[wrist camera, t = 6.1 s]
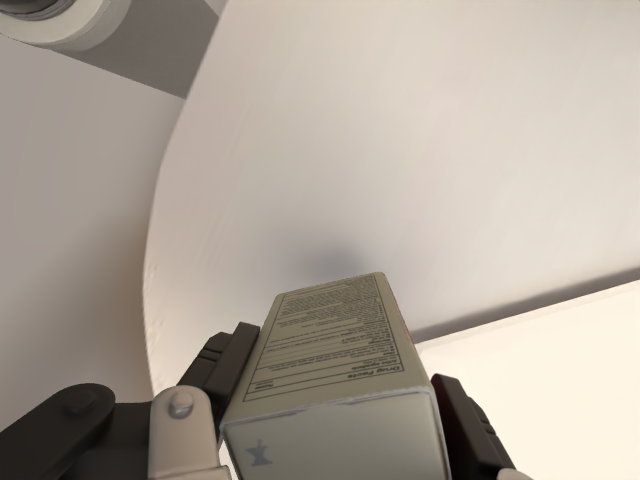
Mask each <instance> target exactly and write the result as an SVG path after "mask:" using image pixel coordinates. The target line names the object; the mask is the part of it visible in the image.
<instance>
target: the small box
mask: <svg viewBox="0 0 640 480" xmlns="http://www.w3.org/2000/svg"><path fill="white" fill-rule="evenodd" d="M219 429H220V432H221V434H222V436H223V439H224V441H225V444H226V446H227V449H228V452H229V455H230V458H231V461H232V463H233V466H234V469H235V472H236V474H237V477H238V479H239V480H452V477H451V470H450V465H449V460H448V454H447V448H446V443H445V438H444V433H443V427H442V423H441V418H440V414H439V409H438V404H437V399H436V395H435V391H434V388H433V386H432V384H431V382H430V380H429V377H428V375H427V373H426V371H425V368H424V366H423V364H422V362H421V359H420V357H419V355H418V353H417V350H416V348H415V346H414V343H413V341H412V338H411V336H410V334H409V331H408V329H407V327H406V325H405V322H404V320H403V317H402V315H401V313H400V310H399V307H398V305H397V302H396V299H395V297H394V295H393V292H392V290H391V288H390V285H389V283H388V281H387V278H386V276H385V274H384V273H383V272H375V273H370V274H365V275H360V276H356V277H351V278H346V279H342V280H338V281H333V282H328V283H325V284H320V285H316V286H311V287H307V288H303V289H299V290H295V291H291V292H286V293H282V294H279V295H277V296H276V298H275V300H274V302H273V305H272V307H271V309H270V311H269V314H268V316H267V318H266V320H265V322H264V325H263V327H262V329H261V331H260V334H259V336H258V338H257V341H256V343H255V345H254V348H253V350H252V352H251V354H250V357H249V359H248V361H247V363H246V366H245V368H244V370H243V372H242V375H241V377H240V379H239V381H238V384H237V386H236V388H235V390H234V393H233V395H232V397H231V400H230V402H229V404H228V406H227V408H226V411H225V413H224V415H223V417H222V420H221V422H220V426H219Z"/></svg>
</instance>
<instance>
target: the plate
mask: <svg viewBox="0 0 640 480" xmlns="http://www.w3.org/2000/svg"><path fill="white" fill-rule="evenodd" d="M414 346H415V348H416V350H417V353H418V355H419V357H420V359H421V362H422V364H423V366H424V368H425V371H426V373H427V375H428V377H429V380H431V378H432V376H433V375H434V374H435V373H438V374H442V375H446V376H449V377H453V378H457V379H458V380H459V381H460V383H461V385H462V387H463V389H464V391H465V392H466V394H467V396H468V397H471V398H472V399H473V400H474V401H475V402H476V403H477V404H478V405H479V406H480V407H481V408H482V409H483V411H484V412H485V414H486V416H487V418H488V420H489V421H490V425H492V427H493V428H494V430H495V432H496V436H498V437H499V439H500V441H501V442H502V444H503V446H504V448H505V450H506V451H507V453H508V455H509V457H510V458H511V460H512V462H513V464H514V465H515V467H516V469H517V471H520V472H522V473H524V474H526V475H527V476H529V477H531V478H532V479H533V480H640V280H637V281H633V282H630V283H626V284H623V285H619V286H616V287H612V288H609V289H606V290H602V291H599V292H595V293H592V294H588V295H585V296H581V297H578V298H574V299H571V300H567V301H564V302H560V303H557V304H553V305H550V306H546V307H543V308H539V309H536V310H532V311H529V312H526V313H522V314H519V315H515V316H512V317H508V318H505V319H501V320H498V321H494V322H491V323H487V324H484V325H480V326H477V327H473V328H470V329H466V330H463V331H459V332H456V333H452V334H449V335H446V336H442V337H439V338H435V339H432V340H428V341H425V342H421V343H418V344H414Z"/></svg>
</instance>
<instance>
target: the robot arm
mask: <svg viewBox="0 0 640 480" xmlns="http://www.w3.org/2000/svg"><path fill="white" fill-rule="evenodd" d="M75 1H76V0H0V13H3V14H5V15H7V16H10V17H12V18H16V19H19V20H24V21H42V20H47V19H51V18H53V17H56V16H58V15H60V14H61V13H63V12H64V11H66V10H67V9H68V8H69V7H71V6H72V5H73V4H74V2H75ZM259 333H260V327H259V326H256V325H252V324H248V323H244V322H240V323H239V324H238V326H237V328H236V329H235V331H234V333H233V334H228V333H224V332H220V333H218V334H216V335H214V336H212V337H211V338H209V340H208V341H207V342H206V344H205V345H204V347H203V349H201V351H200V352H199V354H198V355H197V357H196V358H195V359H194V361H193V362H192V364H191V365H190V367H189V368H188V369H187V371H186V372H185V374H184V375H183V377H182V378H181V379H180V381H179V382H178V384H177V385H176V386H173V387H170V388H167V389H165V390H163V391H162V392H160V393H159V394H158V395H157V396H156V397H155V398H154V400H153V401H150V402H143V403H115V395H114V393H113V391H112V390H110V389H109V388H108V387H106V386H104V385H100V384H94V383H85V384H78V385H74V386H70V387H67V388H65V389H63V390H61V391H59V392H57V393H55V394H54V395H52V396H51V397H50V398H48V399H47V400H45V401H44V402H43V403H41V404H40V405H38V406H37V407H35V408H34V409H33V410H31V411H30V412H28V413H27V414H26V415H24V416H23V417H21V418H20V419H18V420H17V421H16V422H14V423H13V424H12V425H10V426H9V427H7V428H6V429H4V430H3V431H2V432H0V480H232V477H231V473H230V469H229V467H228V466H227V465H224V466H221V464H220V460H219V453H218V452H219V449H220V447H221V444H222V442H223V436H222V434H221V432H220V429H219V426H220V422H221V420H222V417H223V415H224V413H225V411H226V408H227V406H228V404H229V402H230V400H231V397H232V395H233V393H234V390H235V388H236V386H237V384H238V381H239V379H240V377H241V375H242V372H243V370H244V368H245V366H246V363H247V361H248V359H249V357H250V354H251V352H252V350H253V348H254V345H255V343H256V341H257V338H258V336H259ZM430 382H431V384H432V386H433V388H434V391H435V395H436V399H437V404H438V409H439V414H440V418H441V423H442V427H443V433H444V438H445V443H446V448H447V454H448V460H449V465H450V470H451V477H452V480H533V479H532V478H531V477H529V476H527V475H526V474H524V473H522V472H520V471H517V469H516V467H515V465H514V464H513V462H512V460H511V458H510V457H509V455H508V453H507V451H506V450H505V448H504V446H503V444H502V442H501V441H500V439H499V437H498V436H496V432H495V430H494V428H493V427H492V425H490V421H489V420H488V418H487V416H486V414H485V412H484V411H483V409H482V408H481V407H480V406H479V405H478V404H477V403H476V402H475V401H474V400H473V399H472V398H471V397H468V396H467V394H466V392H465V391H464V389H463V387H462V385H461V383H460V381H459V380H458V379H457V378H453V377H449V376H446V375H442V374H438V373H435V374H434V375H433V376H432V378H431V380H430Z"/></svg>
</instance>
